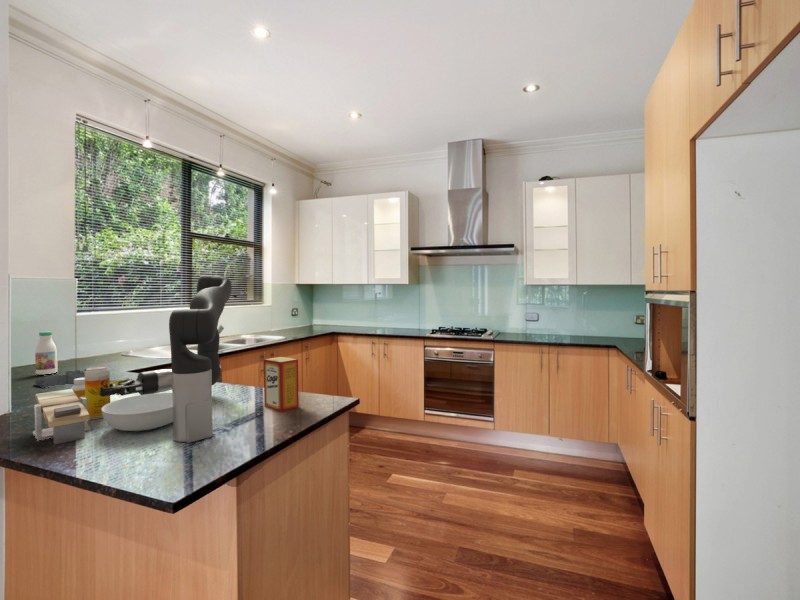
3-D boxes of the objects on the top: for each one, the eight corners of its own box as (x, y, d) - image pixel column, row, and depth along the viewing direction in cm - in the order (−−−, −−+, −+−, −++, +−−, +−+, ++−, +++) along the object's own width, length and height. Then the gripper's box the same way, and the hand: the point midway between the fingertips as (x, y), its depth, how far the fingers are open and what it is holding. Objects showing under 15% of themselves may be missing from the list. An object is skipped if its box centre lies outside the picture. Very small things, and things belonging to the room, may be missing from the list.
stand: (96, 435, 107) (95, 403, 107) (41, 447, 99) (40, 413, 99) (83, 423, 117) (83, 394, 117) (32, 434, 109) (31, 403, 109)
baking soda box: (264, 406, 133) (263, 358, 133) (281, 402, 138) (280, 355, 138) (281, 411, 127) (280, 361, 127) (298, 407, 132) (297, 358, 132)
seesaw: (89, 420, 106) (89, 408, 106) (49, 428, 100) (49, 415, 100) (71, 394, 120) (71, 383, 120) (35, 399, 114) (35, 388, 114)
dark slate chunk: (31, 385, 169) (30, 374, 169) (94, 376, 187) (93, 366, 187) (41, 390, 160) (41, 378, 160) (106, 380, 178) (106, 369, 178)
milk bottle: (41, 373, 193) (40, 331, 192) (60, 372, 195) (59, 330, 194) (32, 376, 185) (30, 332, 185) (52, 375, 188) (51, 332, 187)
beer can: (97, 420, 120) (96, 370, 120) (80, 419, 121) (79, 369, 121) (115, 414, 126) (114, 366, 126) (99, 413, 127) (98, 365, 127)
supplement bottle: (95, 407, 134) (94, 378, 134) (75, 411, 130) (74, 381, 130) (88, 404, 137) (87, 376, 137) (69, 408, 133) (68, 379, 133)
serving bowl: (81, 437, 106) (80, 411, 106) (142, 413, 127) (141, 391, 127) (153, 441, 103) (152, 414, 103) (204, 415, 124) (203, 393, 124)
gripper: (148, 367, 140) (90, 375, 128) (163, 373, 131) (102, 381, 119) (149, 389, 140) (91, 399, 128) (163, 396, 131) (103, 407, 119)
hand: (96, 390), depth 123 cm, fingers open, 8 cm apart
